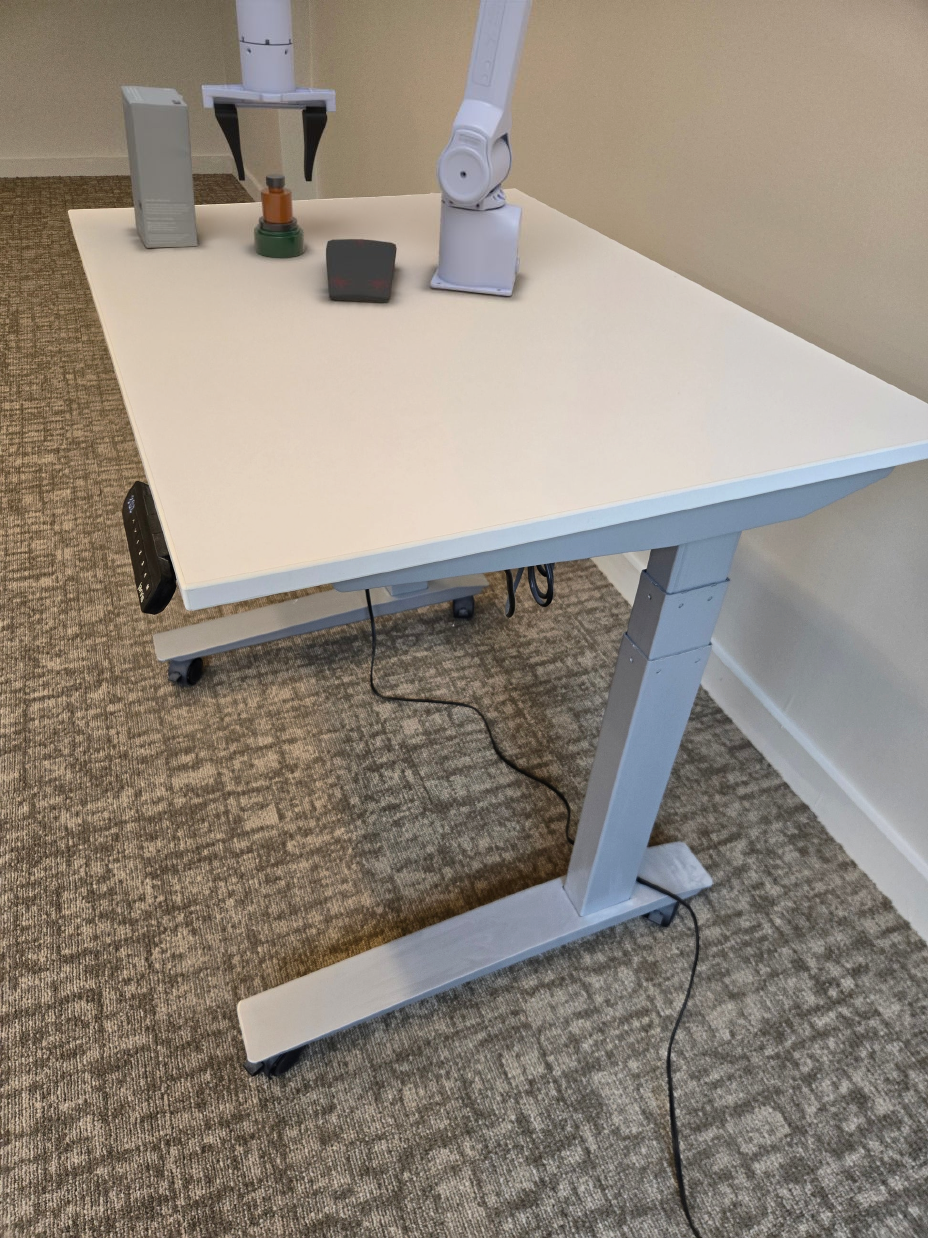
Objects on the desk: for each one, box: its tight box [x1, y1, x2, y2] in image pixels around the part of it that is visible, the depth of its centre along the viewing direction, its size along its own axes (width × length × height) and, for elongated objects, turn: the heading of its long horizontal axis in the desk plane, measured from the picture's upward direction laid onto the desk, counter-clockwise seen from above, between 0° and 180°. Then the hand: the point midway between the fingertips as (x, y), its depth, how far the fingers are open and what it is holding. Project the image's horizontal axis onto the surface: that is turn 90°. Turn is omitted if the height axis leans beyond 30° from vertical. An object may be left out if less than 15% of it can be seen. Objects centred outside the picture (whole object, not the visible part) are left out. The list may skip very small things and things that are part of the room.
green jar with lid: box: [253, 215, 306, 259], centre depth 106 cm, size 6×6×4 cm
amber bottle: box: [260, 173, 294, 224], centre depth 104 cm, size 4×4×5 cm
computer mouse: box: [325, 238, 398, 303], centre depth 99 cm, size 8×14×4 cm, turn 3°
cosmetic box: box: [120, 85, 199, 249], centre depth 103 cm, size 8×7×16 cm
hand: (275, 178), depth 102 cm, fingers open, 7 cm apart
